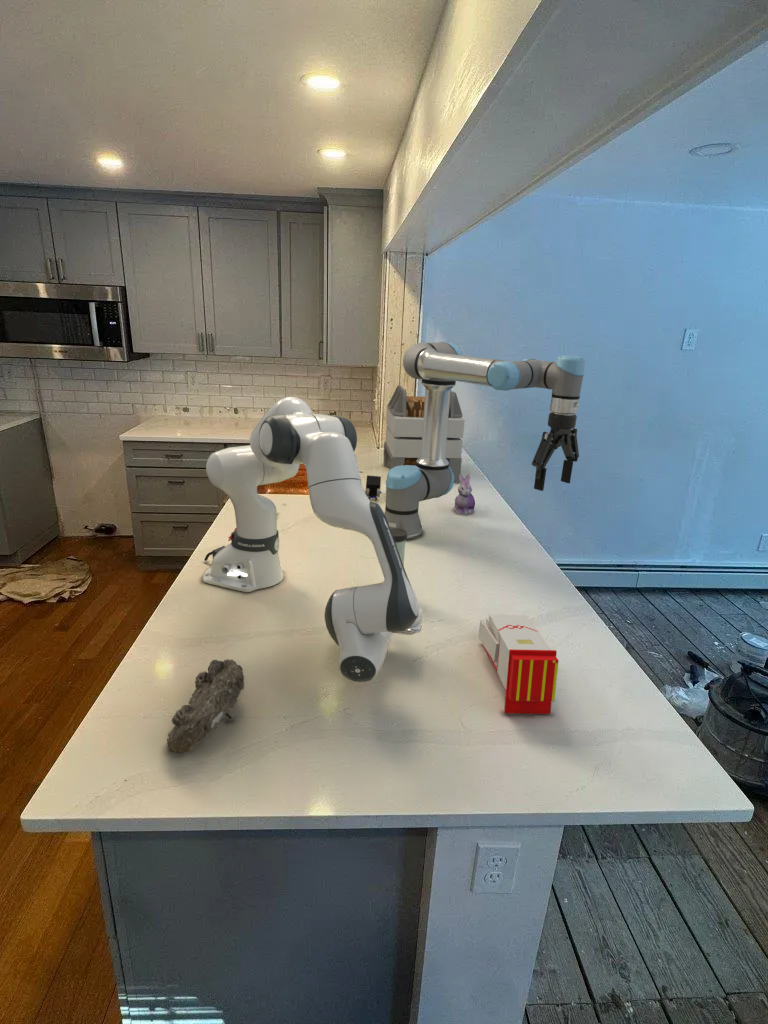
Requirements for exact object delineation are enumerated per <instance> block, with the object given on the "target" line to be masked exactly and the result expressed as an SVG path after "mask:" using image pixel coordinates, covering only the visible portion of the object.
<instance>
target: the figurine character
mask: <svg viewBox="0 0 768 1024" xmlns="http://www.w3.org/2000/svg"><path fill="white" fill-rule="evenodd" d="M381 481H382V477H381V476H380V475H369V474H368V475H366V481H365V490H364V492H365V494H366V496H367V497H368V498H369V500H370V501H371V499H374V502H375V501H376V502H377V501H378V498H380V496H381V494H382V491H381V483H382V482H381Z"/></svg>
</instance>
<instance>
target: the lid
mask: <svg viewBox="0 0 768 1024" xmlns="http://www.w3.org/2000/svg"><path fill="white" fill-rule="evenodd" d="M391 532H392V534H393V537H394V540H395V542H402V541H405V542H406V541H407V540H406V539H407V532H406V531H405V530H403V529H397V528H392V529H391Z"/></svg>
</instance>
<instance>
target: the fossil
mask: <svg viewBox="0 0 768 1024" xmlns="http://www.w3.org/2000/svg"><path fill="white" fill-rule="evenodd" d="M243 670H244V669H243V667H242V665H240V664H237V662H236V661H235V660H234V659H232V658H231V659H227V658H226V659H224V660H223V661H222V660H217V659H212V660H211V661H210V663H209V665H208V666H207V671H201V672H199V673H198V674H197V675H196V676H195V680H194V684H195V685H194V687H195V689H194V690H193V693H192V694H191V697H190V698H189V700H188V704H184V705H182V706H181V707H180V709H177V710H176V711H175V713H174V715H173V716H172V718H171V723H172V724H173V727H172V730H171V731H170V732H168V734H167V738H166V741H167V742H166V745H167V749H168V750H169V751H173V752H174V753H176V754H178V753H182V752H188V751H189V752H192V751H193V750H195V748H196V747H197V746H199V744H200V743H201V742H203V741H204V740H205V739H206V738H207V737H208V736H209V735H210V734H211V733H212V732H214V730H215V729H217V727H218V726H219V724H220V722H221V721H222V720H223V719H224V718H225V716H226V717H227V719H229V720H233V717H232V715H230V714H229V710H230V709H231V708H234V706H235V704H236V703H237V702H238V699H239V697H240V695H241V693H242V691H243V690H245V689H244V688H245V675H244V671H243Z"/></svg>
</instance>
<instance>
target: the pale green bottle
mask: <svg viewBox="0 0 768 1024" xmlns="http://www.w3.org/2000/svg"><path fill="white" fill-rule="evenodd" d="M395 543H396V546H397V549H398V552H399V554H400V557H401V560H402V563H403V566H404V567H405V550H406V540H405V541H402V542H395Z"/></svg>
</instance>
